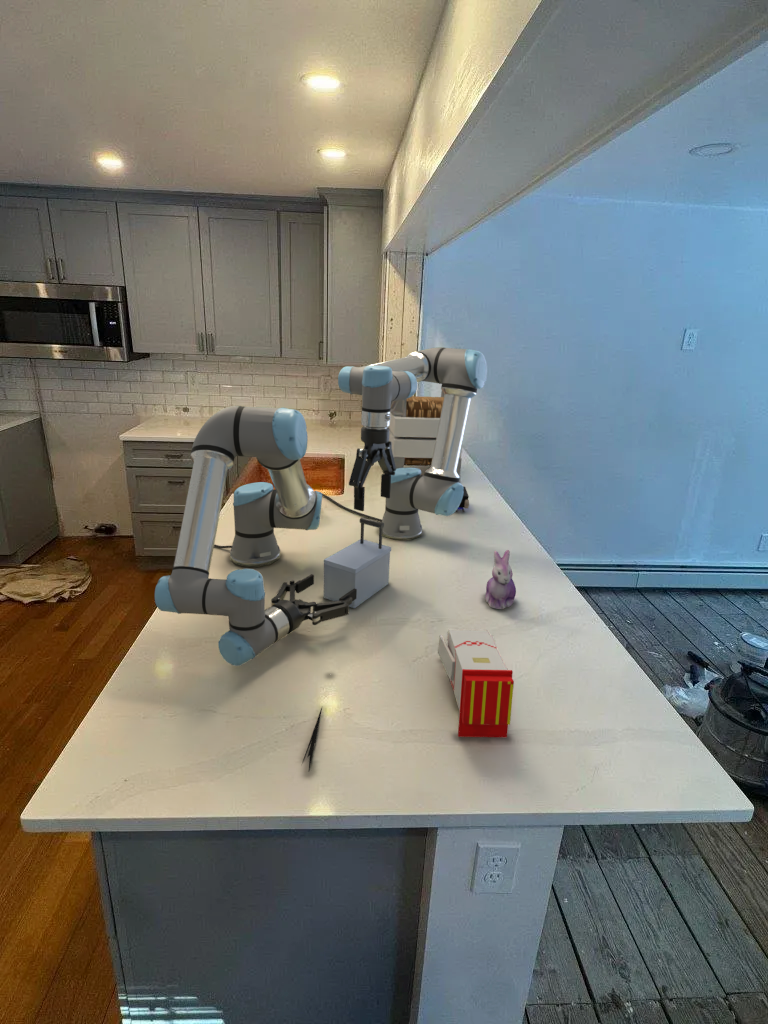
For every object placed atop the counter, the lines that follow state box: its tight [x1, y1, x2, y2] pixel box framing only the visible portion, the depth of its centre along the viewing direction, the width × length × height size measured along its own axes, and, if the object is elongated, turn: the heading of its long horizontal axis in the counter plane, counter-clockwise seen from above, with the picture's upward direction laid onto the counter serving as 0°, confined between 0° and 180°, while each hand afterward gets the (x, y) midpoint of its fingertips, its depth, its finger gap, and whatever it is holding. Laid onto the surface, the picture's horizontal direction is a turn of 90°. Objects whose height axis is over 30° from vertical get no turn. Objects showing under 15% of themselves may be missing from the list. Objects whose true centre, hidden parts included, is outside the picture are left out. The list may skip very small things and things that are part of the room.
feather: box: [301, 673, 332, 771], centre depth 108 cm, size 2×28×2 cm
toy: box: [437, 628, 515, 738], centre depth 117 cm, size 12×13×30 cm
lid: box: [323, 516, 392, 574], centre depth 154 cm, size 18×10×9 cm, turn 149°
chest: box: [323, 551, 391, 609], centre depth 157 cm, size 18×10×10 cm, turn 149°
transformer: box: [388, 390, 464, 483], centre depth 268 cm, size 34×33×41 cm
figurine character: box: [455, 485, 470, 513], centre depth 227 cm, size 7×8×15 cm
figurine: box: [484, 549, 517, 610], centre depth 153 cm, size 9×10×15 cm
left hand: (333, 586), depth 147 cm, fingers open, 13 cm apart
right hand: (372, 503), depth 156 cm, fingers open, 13 cm apart
